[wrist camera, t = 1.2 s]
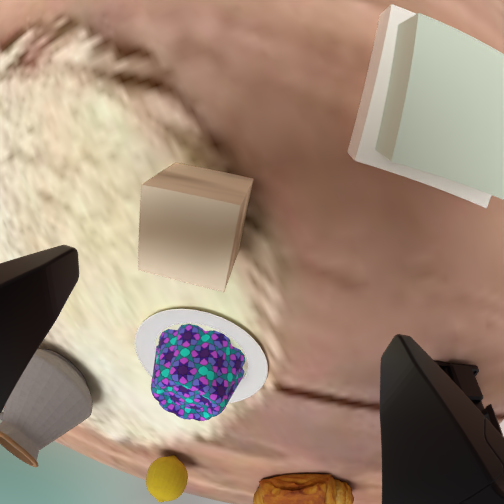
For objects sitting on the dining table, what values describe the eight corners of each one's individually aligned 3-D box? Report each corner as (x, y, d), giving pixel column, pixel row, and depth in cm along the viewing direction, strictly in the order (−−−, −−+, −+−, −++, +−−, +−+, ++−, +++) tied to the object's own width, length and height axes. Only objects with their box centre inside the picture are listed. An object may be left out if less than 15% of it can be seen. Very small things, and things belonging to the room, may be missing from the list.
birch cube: (239, 249, 22) (224, 292, 17) (168, 232, 22) (138, 269, 17) (253, 178, 19) (240, 205, 15) (175, 162, 19) (141, 184, 15)
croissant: (347, 486, 43) (354, 524, 36) (258, 498, 44) (259, 537, 37) (353, 455, 36) (364, 503, 29) (241, 471, 37) (241, 520, 30)
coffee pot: (100, 365, 30) (37, 478, 17) (101, 413, 36) (58, 503, 22) (-29, 286, 29) (-100, 357, 16) (-13, 344, 34) (-65, 409, 21)
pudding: (297, 352, 26) (295, 402, 21) (225, 411, 31) (215, 452, 26) (168, 276, 24) (141, 319, 19) (122, 356, 29) (101, 395, 24)
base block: (465, 193, 18) (486, 208, 15) (346, 151, 18) (354, 160, 16) (497, 73, 14) (523, 74, 11) (377, 16, 14) (391, 4, 11)
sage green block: (480, 183, 15) (507, 201, 12) (374, 149, 15) (391, 161, 12) (504, 73, 11) (535, 74, 9) (398, 24, 12) (418, 12, 9)
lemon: (159, 458, 40) (144, 501, 33) (152, 442, 37) (135, 489, 30) (194, 467, 39) (182, 511, 32) (191, 451, 37) (177, 501, 29)
